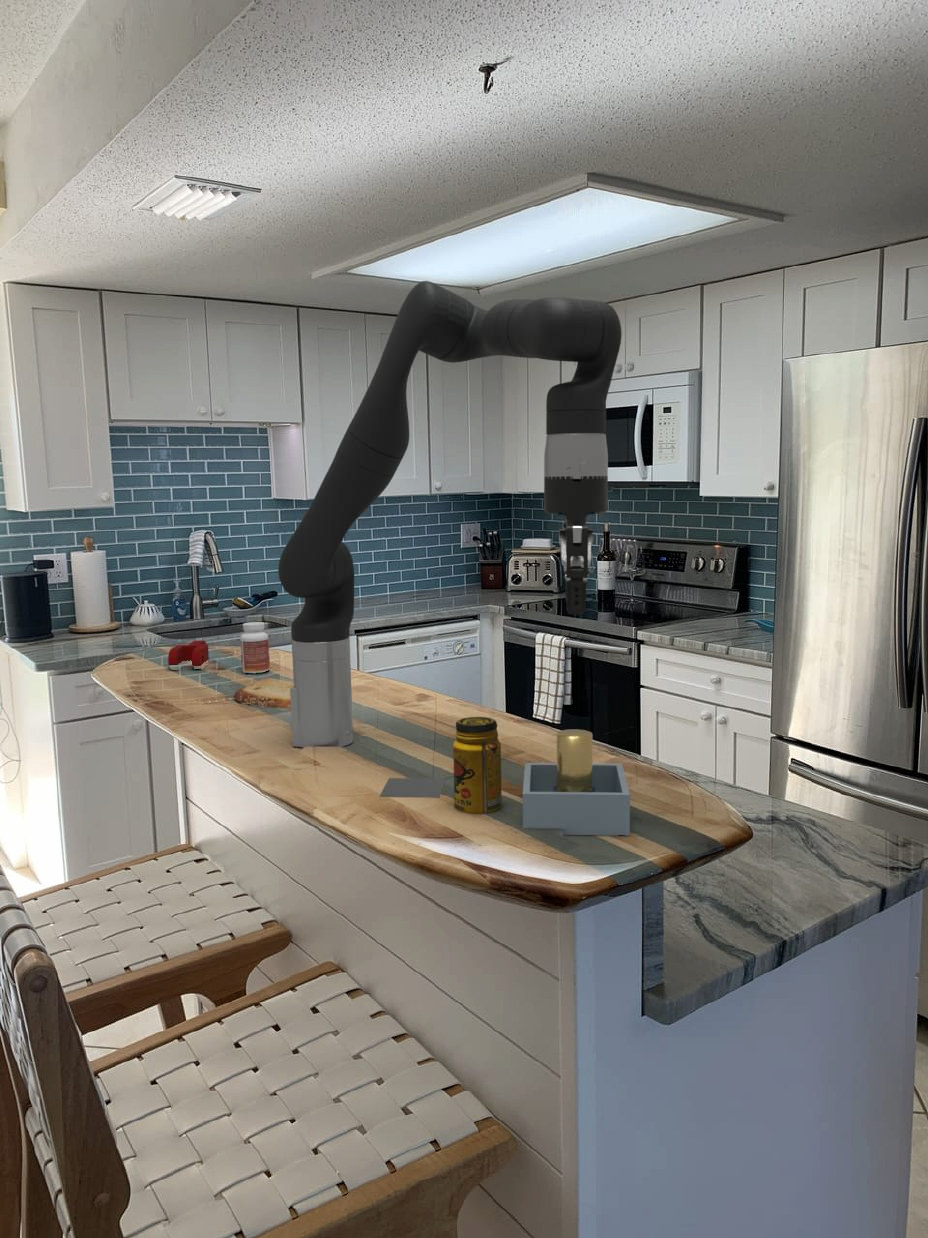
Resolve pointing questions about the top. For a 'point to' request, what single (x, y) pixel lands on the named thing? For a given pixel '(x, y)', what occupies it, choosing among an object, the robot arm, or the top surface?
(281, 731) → the top surface
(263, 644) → the pill bottle
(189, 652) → the red arch block
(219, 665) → the top surface
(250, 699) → the bread slice
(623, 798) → the bin
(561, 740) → the gold cylindrical piece
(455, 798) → the condiment
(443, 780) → the stud plate
